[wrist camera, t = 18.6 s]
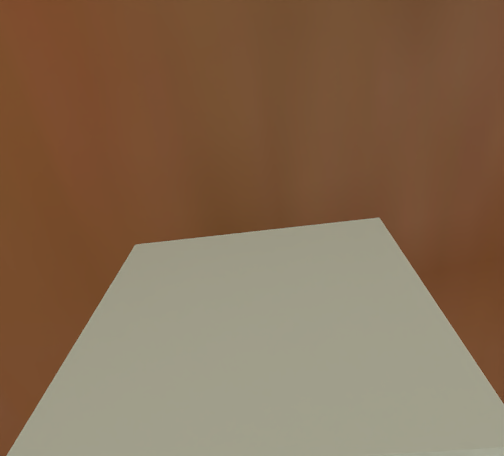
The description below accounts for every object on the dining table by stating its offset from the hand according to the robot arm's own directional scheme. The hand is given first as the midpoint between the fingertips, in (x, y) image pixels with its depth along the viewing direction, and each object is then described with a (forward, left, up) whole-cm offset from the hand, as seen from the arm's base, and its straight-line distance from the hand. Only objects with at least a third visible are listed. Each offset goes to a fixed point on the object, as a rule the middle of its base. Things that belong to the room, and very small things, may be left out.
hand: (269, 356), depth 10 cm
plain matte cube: (0, 0, -1) cm, 1 cm away
